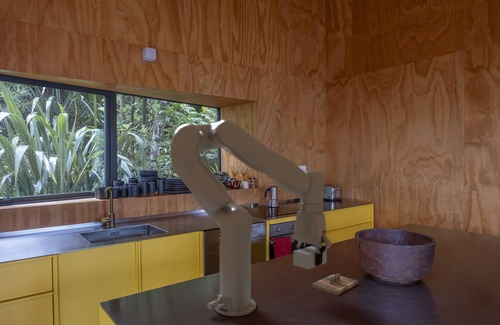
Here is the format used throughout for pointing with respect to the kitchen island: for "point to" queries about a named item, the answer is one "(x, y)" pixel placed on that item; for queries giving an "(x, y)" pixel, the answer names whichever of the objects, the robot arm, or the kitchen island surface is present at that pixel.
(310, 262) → the block
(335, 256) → the kitchen island surface
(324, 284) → the pin block
